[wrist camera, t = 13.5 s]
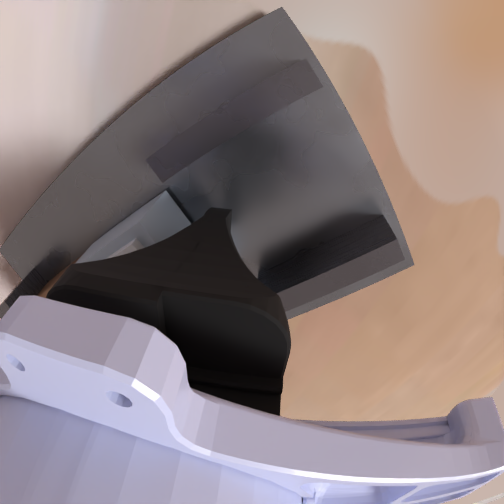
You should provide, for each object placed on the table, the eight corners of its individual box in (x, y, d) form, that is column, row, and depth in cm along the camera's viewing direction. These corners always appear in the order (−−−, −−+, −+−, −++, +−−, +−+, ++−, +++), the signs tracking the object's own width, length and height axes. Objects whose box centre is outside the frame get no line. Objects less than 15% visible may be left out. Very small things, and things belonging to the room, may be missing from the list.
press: (6, 243, 16) (-32, 279, 13) (282, 10, 9) (281, -16, 6) (122, 367, 21) (103, 411, 18) (409, 255, 14) (437, 311, 11)
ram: (92, 243, 14) (58, 283, 12) (166, 189, 13) (134, 227, 10) (154, 312, 16) (133, 358, 14) (232, 276, 14) (220, 327, 12)
